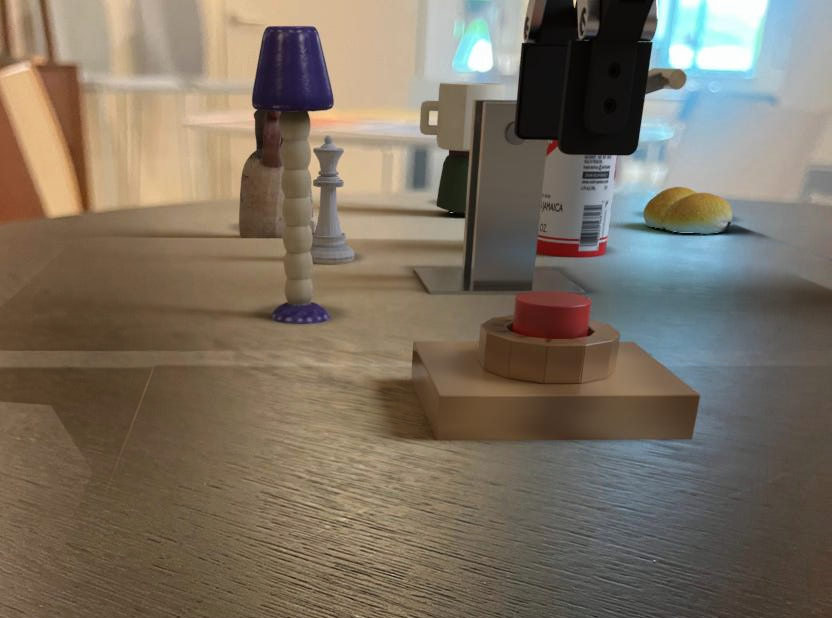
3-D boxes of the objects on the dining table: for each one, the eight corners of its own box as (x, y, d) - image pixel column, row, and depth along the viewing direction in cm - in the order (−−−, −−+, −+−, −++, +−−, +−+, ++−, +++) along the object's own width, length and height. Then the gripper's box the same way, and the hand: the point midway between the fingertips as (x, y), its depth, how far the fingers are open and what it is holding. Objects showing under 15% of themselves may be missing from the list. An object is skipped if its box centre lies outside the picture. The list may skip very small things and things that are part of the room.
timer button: (576, 327, 51) (580, 290, 50) (595, 344, 48) (600, 306, 47) (505, 327, 51) (508, 290, 50) (520, 344, 48) (524, 306, 47)
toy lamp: (324, 345, 62) (325, 24, 54) (250, 340, 63) (239, 23, 54) (339, 327, 66) (342, 27, 58) (269, 323, 67) (262, 26, 58)
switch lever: (664, 93, 72) (659, 56, 71) (689, 96, 68) (684, 56, 66) (486, 152, 73) (478, 116, 72) (499, 158, 69) (491, 120, 68)
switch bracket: (553, 284, 80) (573, 100, 74) (583, 309, 72) (609, 105, 66) (414, 283, 79) (422, 97, 73) (429, 308, 71) (440, 102, 65)
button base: (627, 381, 56) (639, 306, 54) (692, 441, 47) (708, 354, 45) (410, 382, 55) (414, 306, 53) (436, 442, 47) (441, 354, 45)
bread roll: (692, 237, 102) (700, 194, 100) (628, 226, 109) (634, 185, 107) (748, 232, 106) (756, 190, 104) (683, 221, 113) (689, 182, 111)
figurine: (322, 237, 99) (322, 97, 93) (306, 248, 93) (305, 99, 87) (250, 234, 100) (246, 95, 94) (230, 245, 94) (224, 97, 88)
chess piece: (356, 277, 81) (359, 137, 76) (301, 277, 81) (300, 137, 76) (353, 267, 85) (355, 133, 80) (300, 267, 84) (299, 133, 79)
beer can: (557, 271, 85) (582, 49, 77) (516, 259, 90) (536, 49, 82) (618, 267, 87) (648, 51, 79) (575, 255, 92) (600, 50, 84)
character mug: (515, 213, 117) (527, 84, 110) (508, 221, 111) (520, 85, 104) (421, 208, 119) (428, 81, 113) (409, 216, 113) (415, 82, 107)
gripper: (849, -503, 29) (727, 166, 38) (653, -313, 44) (598, 134, 53) (593, -518, 29) (529, 163, 38) (483, -321, 44) (455, 132, 53)
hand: (570, 144), depth 45 cm, fingers open, 8 cm apart
